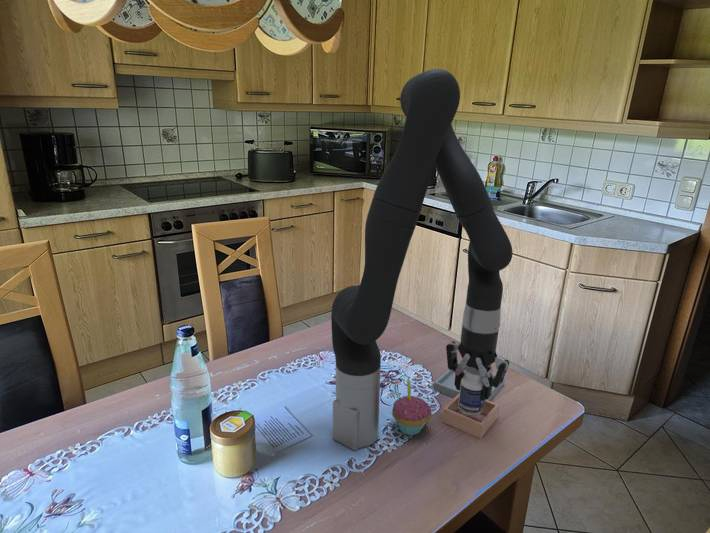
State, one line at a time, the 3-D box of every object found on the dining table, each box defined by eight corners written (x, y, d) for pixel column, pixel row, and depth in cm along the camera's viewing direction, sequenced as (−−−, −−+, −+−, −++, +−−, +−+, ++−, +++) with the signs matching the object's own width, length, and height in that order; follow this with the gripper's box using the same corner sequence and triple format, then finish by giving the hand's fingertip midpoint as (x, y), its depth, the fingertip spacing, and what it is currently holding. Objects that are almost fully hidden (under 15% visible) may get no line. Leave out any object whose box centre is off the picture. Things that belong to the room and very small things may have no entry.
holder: (480, 438, 103) (482, 425, 102) (442, 421, 109) (443, 408, 108) (497, 418, 110) (499, 404, 109) (460, 402, 116) (461, 390, 115)
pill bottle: (484, 416, 105) (490, 377, 102) (460, 415, 106) (464, 376, 102) (479, 402, 111) (484, 364, 107) (456, 401, 111) (460, 363, 108)
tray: (482, 409, 113) (483, 401, 113) (433, 389, 121) (434, 382, 120) (503, 385, 123) (504, 378, 122) (457, 368, 131) (457, 361, 130)
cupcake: (384, 422, 108) (385, 376, 104) (415, 412, 112) (418, 367, 108) (405, 445, 101) (407, 397, 97) (438, 434, 105) (441, 386, 101)
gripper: (441, 320, 103) (435, 388, 108) (506, 341, 94) (495, 414, 100) (458, 309, 108) (451, 375, 114) (520, 328, 100) (509, 398, 105)
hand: (472, 393), depth 107 cm, fingers closed on pill bottle, 5 cm apart
